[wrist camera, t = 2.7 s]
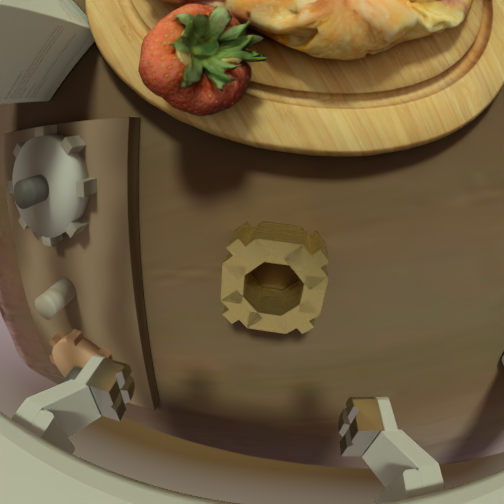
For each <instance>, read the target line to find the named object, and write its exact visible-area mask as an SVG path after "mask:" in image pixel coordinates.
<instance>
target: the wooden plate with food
mask: <svg viewBox="0 0 504 504" xmlns="http://www.w3.org/2000/svg"><path fill="white" fill-rule="evenodd" d="M85 2H86V14H87V19H88V24H89V27H90V30H91V33H92V36H93V39H94V41H95V43H96V45H97V47H98V49H99V50H100V52H101V54H102V56H103V57H104V59H105V60H106V62H107V63H108V64H109V66H110V67H111V68H112V69H113V71H114V72H115V73H116V74H117V76H118V77H119V78H120V79H121V80H122V81H123V82H125V83H126V84H127V85H128V86H129V87H130V88H131V89H132V90H133V91H134V92H135V93H137V94H138V95H139V96H140V97H141V98H143V99H144V100H146V101H147V102H148V103H150V104H152V105H153V106H155V107H157V108H159V109H160V110H162V111H164V112H165V113H167V114H169V115H170V116H172V117H174V118H175V119H177V120H179V121H181V122H183V123H186V124H188V125H191V126H193V127H195V128H198V129H200V130H203V131H205V132H207V133H209V134H212V135H215V136H218V137H221V138H225V139H228V140H231V141H235V142H238V143H242V144H245V145H249V146H252V147H256V148H262V149H268V150H274V151H280V152H288V153H295V154H302V155H308V156H334V157H354V156H372V155H378V154H384V153H390V152H396V151H402V150H407V149H411V148H414V147H418V146H421V145H425V144H429V143H432V142H434V141H437V140H439V139H441V138H444V137H446V136H448V135H450V134H452V133H454V132H456V131H458V130H459V129H461V128H462V127H464V126H465V125H467V124H468V123H470V122H471V121H472V120H474V119H475V118H477V117H478V116H479V115H480V114H481V113H482V112H483V111H484V110H485V109H486V108H487V107H488V106H489V105H490V103H491V102H492V101H493V100H494V98H495V97H496V96H497V94H498V93H499V91H500V89H501V88H502V86H503V84H504V0H85Z"/></svg>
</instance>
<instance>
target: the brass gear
mask: <svg viewBox="0 0 504 504" xmlns="http://www.w3.org/2000/svg"><path fill="white" fill-rule="evenodd" d="M226 248H227V249H228V250H229V252H228V254H227V256H226V258H225V260H224V262H223V268H222V286H221V301H222V302H223V303H224V304H225V308H224V311H223V315H224V316H225V317H226V318H227V320H228V321H229V322H230V323H231V324H233V323H234V322H236V321H238V320H240V321H241V322H242V323H243V324H244V325H245V326H246V328H249V329H256V330H263V331H270V332H277V333H284V334H287V333H289V332H290V331H292V330H294V329H296V328H297V329H298V330H299V331H300V332H301V333H302V334H303V333H305V332H307V331H309V330H310V329H312V328H314V318H315V317H317V316H318V315H320V312H321V308H322V303H323V299H324V295H325V291H326V287H327V283H328V273H327V268H326V264H327V263H329V258H328V254H327V250H326V246H325V242H324V240H323V239H322V238H321V236H320V235H319V234H318V232H317V231H316V232H314V233H313V234H311V235H310V236H308V234H307V233H306V232H305V230H304V229H303V228H302V227H300V226H293V225H286V224H279V223H271V222H264V221H262V222H261V223H260V224H258V225H257V226H256V227H254V228H252V227H251V225H250V224H249V223H248V222H246V223H244V224H243V225H242V226H241V227H239V228H238V229H237V230H236V231H235V233H234V235H233V237H232V238H231V240H230V242H229V244H228V245H227V247H226ZM263 262H268V263H276V264H283V265H290V267H291V268H292V269H293V270H294V272H295V273H296V274H297V275H298V277H299V278H300V279H299V280H298V281H296V282H295V283H293V284H292V285H290V286H289V287H287V288H285V289H284V290H280V289H273V288H266V287H263V286H262V285H261V284H260V283H259V282H258V281H257V280H256V278H255V277H254V276H253V275H252V274H251V273H250V271H252V270H253V269H254V268H256V267H257V266H259V265H260V264H262V263H263Z"/></svg>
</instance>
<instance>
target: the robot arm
mask: <svg viewBox="0 0 504 504" xmlns="http://www.w3.org/2000/svg"><path fill="white" fill-rule="evenodd" d="M502 364H503V365H504V355H503V357H502ZM131 372H132V371H131V367H130V365H128V364H125V363H122V362H119V361H115V360H112V359H109V358H106V357H103V356H100V355H97V354H95V355H93V356H92V357H91V358H90V359H89V361H88V362H87V363H86V365H85V366H84V368H83V369H82V370H81V372H80V373H79V374H78V376H77V377H76V379H75V380H72V379H71V380H69V381H66V382H64V383H62V384H59V385H57V386H55V387H52V388H50V389H48V390H45V391H43V392H41V393H38V394H36V395H33V396H31V397H28V398H27V399H26V400H25V401H24V402H23V404H22V405H21V406H20V408H19V409H18V410H17V412H16V413H15V414H14V416H13V417H12V419H10V418H9V417H7V416H6V415H4V414H3V413H2V412H0V504H238V503H231V502H224V501H218V500H212V499H207V498H202V497H197V496H192V495H187V494H183V493H179V492H175V491H171V490H168V489H164V488H160V487H157V486H153V485H150V484H147V483H144V482H141V481H137V480H134V479H132V478H128V477H126V476H123V475H120V474H117V473H115V472H112V471H109V470H107V469H105V468H102V467H100V466H98V465H95V464H93V463H91V462H88V461H86V460H84V459H82V458H79V457H77V456H75V455H73V452H74V450H75V448H74V445H73V444H72V442H71V441H70V439H69V438H68V437H70V436H71V435H73V434H74V433H76V432H78V431H79V430H81V429H82V428H84V427H85V426H87V425H89V424H90V423H91V422H93V421H95V420H96V419H97V418H99V417H101V415H102V416H105V417H108V418H111V419H114V420H117V421H120V420H121V418H122V416H123V414H124V412H125V410H126V407H125V404H126V403H127V402H129V401H131V399H132V397H133V394H134V389H135V383H134V379H133V378H132V377H131V376H130V374H131ZM346 407H347V408H345V409H344V410H342V412H341V414H340V417H339V422H338V429H339V433H340V435H341V436H342V437H343V438H342V439H341V441H340V449H341V456H362V458H363V459H364V460H365V462H366V463H367V464H368V466H369V467H370V468H371V470H372V471H373V472H374V473H375V475H376V476H377V477H378V479H379V480H380V481H381V482H382V484H383V485H384V486H385V489H384V490H383V491H382V492H381V493H379V494H378V495H377V496H376V497H375V504H504V469H503V470H500V471H498V472H496V473H493V474H490V475H488V476H485V477H483V478H480V479H477V480H474V481H471V482H468V483H465V484H463V485H459V486H456V487H453V488H449V489H446V490H445V486H444V482H443V478H442V475H441V471H440V467H439V463H437V462H436V461H435V460H434V459H433V458H432V457H431V456H430V455H429V454H427V453H426V452H425V451H424V450H423V449H422V448H421V447H420V446H419V445H417V444H416V443H415V442H414V441H413V440H412V439H411V438H410V437H409V436H408V435H406V434H405V433H404V432H403V431H402V430H398V429H397V425H396V421H395V418H394V414H393V411H392V407H391V404H390V400H389V398H388V397H350V398H349V399H348V400H347V402H346Z"/></svg>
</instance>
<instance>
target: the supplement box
mask: <svg viewBox="0 0 504 504" xmlns="http://www.w3.org/2000/svg"><path fill="white" fill-rule="evenodd" d="M94 42H95V41H94V39H93V36H92V33H91V30H90V27H89V24H88V19H87V16H86V15H85V14H84V13H83V11H82V10H81V9H80V8H79V7H78V6H77V5H76V4H75V3H74V2H73V1H72V0H0V104H8V103H23V102H41V101H50V99H51V98H52V96H53V95H54V93H55V92H56V90H57V89H58V87H59V86H60V85H61V83H62V82H63V80H64V79H65V78H66V76H67V75H68V74H69V72H70V71H71V70H72V68H73V67H74V66H75V65H76V63H77V62H78V61H79V59H80V58H81V57H82V56H83V55H84V53H85V52H86V51H87V50H88V49H89V47H90V46H91V45H92V44H93V43H94Z"/></svg>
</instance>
